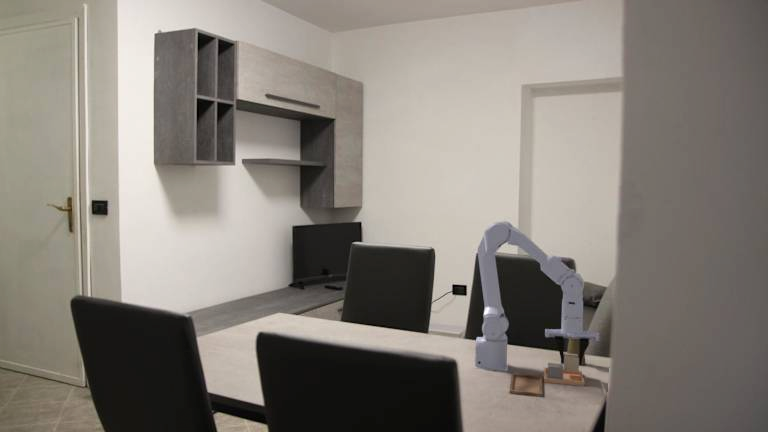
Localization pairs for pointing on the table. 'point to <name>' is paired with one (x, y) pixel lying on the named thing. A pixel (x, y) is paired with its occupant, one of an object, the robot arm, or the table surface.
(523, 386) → the walnut tray
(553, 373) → the slate gray cube
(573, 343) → the cork
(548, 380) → the terracotta dish
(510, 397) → the table surface
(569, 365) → the cream pedestal cube
